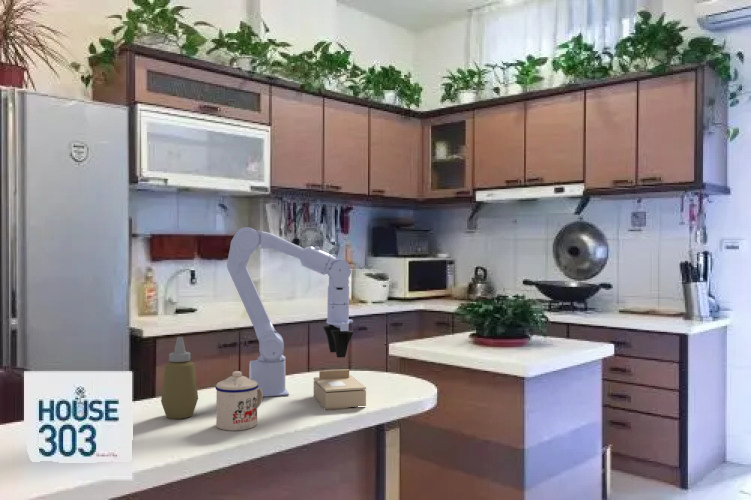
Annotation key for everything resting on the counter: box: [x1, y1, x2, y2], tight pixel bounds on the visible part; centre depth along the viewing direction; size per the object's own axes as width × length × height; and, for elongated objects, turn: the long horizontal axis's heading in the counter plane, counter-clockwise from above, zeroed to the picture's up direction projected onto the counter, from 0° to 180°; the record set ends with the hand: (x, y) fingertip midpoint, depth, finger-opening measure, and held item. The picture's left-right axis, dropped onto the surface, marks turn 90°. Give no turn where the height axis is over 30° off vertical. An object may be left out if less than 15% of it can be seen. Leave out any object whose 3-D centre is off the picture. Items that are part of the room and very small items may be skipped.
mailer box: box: [313, 380, 367, 411], centre depth 158 cm, size 14×10×4 cm
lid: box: [313, 368, 367, 392], centre depth 158 cm, size 14×10×2 cm
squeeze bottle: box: [160, 336, 199, 420], centre depth 144 cm, size 8×8×18 cm
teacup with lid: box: [214, 370, 263, 432], centre depth 138 cm, size 12×9×12 cm
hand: (337, 354), depth 169 cm, fingers open, 7 cm apart
